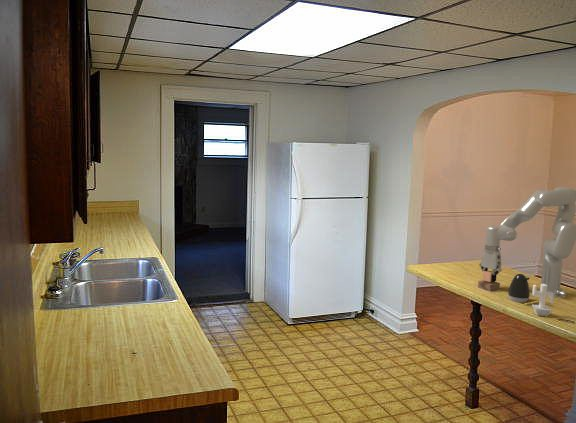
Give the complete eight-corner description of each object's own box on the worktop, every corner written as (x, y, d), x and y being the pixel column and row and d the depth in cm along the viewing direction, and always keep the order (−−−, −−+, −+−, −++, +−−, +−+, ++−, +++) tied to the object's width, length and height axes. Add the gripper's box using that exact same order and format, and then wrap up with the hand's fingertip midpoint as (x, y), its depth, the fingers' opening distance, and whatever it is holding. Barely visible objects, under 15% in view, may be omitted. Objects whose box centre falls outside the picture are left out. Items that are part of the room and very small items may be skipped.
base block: (499, 290, 280) (499, 283, 280) (489, 291, 276) (490, 284, 276) (487, 286, 287) (487, 279, 286) (477, 288, 283) (478, 281, 282)
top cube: (496, 281, 280) (496, 272, 279) (490, 282, 277) (490, 273, 277) (488, 279, 284) (489, 270, 284) (482, 280, 282) (483, 271, 281)
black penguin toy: (519, 306, 255) (522, 277, 253) (503, 300, 265) (505, 272, 263) (533, 304, 259) (536, 275, 258) (517, 298, 269) (519, 270, 267)
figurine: (553, 317, 238) (556, 287, 236) (532, 315, 240) (535, 285, 238) (549, 313, 245) (552, 283, 243) (528, 311, 247) (531, 281, 245)
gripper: (509, 250, 273) (506, 283, 275) (483, 245, 288) (481, 276, 290) (500, 251, 269) (497, 284, 272) (474, 246, 284) (472, 277, 286)
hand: (489, 279), depth 281 cm, fingers closed on top cube, 4 cm apart
